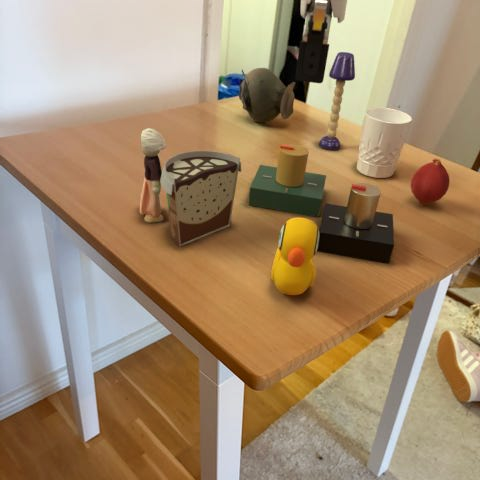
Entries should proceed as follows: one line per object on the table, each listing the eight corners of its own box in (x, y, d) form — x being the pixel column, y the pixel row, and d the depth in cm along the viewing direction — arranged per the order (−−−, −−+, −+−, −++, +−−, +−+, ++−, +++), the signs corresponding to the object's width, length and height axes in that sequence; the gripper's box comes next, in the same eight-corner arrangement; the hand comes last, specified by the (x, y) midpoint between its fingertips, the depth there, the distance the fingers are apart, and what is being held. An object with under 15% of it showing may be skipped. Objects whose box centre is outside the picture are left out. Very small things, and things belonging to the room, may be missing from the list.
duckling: (309, 321, 61) (325, 247, 55) (263, 313, 61) (274, 239, 55) (314, 267, 70) (328, 198, 63) (273, 261, 70) (284, 192, 64)
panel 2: (387, 232, 79) (393, 212, 77) (388, 263, 72) (394, 243, 70) (321, 220, 80) (325, 201, 78) (316, 251, 73) (320, 230, 71)
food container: (208, 207, 81) (212, 142, 74) (237, 223, 77) (242, 157, 71) (142, 231, 73) (140, 162, 67) (170, 250, 70) (170, 179, 64)
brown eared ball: (273, 135, 106) (280, 80, 100) (224, 119, 111) (227, 67, 104) (297, 122, 113) (304, 71, 107) (249, 108, 118) (254, 58, 111)
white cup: (364, 158, 101) (377, 104, 94) (402, 171, 97) (418, 116, 91) (345, 170, 96) (357, 114, 89) (385, 184, 92) (401, 126, 86)
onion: (412, 193, 90) (427, 147, 85) (445, 204, 88) (462, 158, 83) (400, 204, 86) (414, 157, 81) (433, 216, 84) (450, 169, 79)
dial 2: (372, 218, 75) (381, 183, 72) (372, 231, 72) (381, 196, 69) (344, 213, 76) (352, 178, 73) (343, 226, 73) (351, 191, 69)
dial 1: (304, 177, 84) (310, 144, 81) (301, 188, 81) (307, 155, 78) (277, 172, 85) (282, 140, 82) (273, 184, 82) (278, 150, 78)
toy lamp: (312, 143, 104) (327, 51, 94) (327, 139, 107) (344, 49, 96) (330, 152, 102) (348, 58, 91) (345, 147, 104) (365, 55, 94)
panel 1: (323, 192, 88) (326, 174, 86) (318, 217, 81) (322, 198, 79) (258, 181, 89) (260, 163, 87) (248, 205, 82) (250, 186, 80)
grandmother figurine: (133, 206, 79) (129, 120, 71) (159, 203, 80) (157, 118, 72) (146, 231, 73) (143, 142, 65) (173, 228, 75) (173, 139, 67)
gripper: (381, -108, 46) (342, 95, 57) (370, -107, 60) (340, 57, 71) (296, -117, 47) (273, 86, 58) (304, -114, 60) (284, 50, 71)
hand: (310, 70), depth 64 cm, fingers open, 9 cm apart
